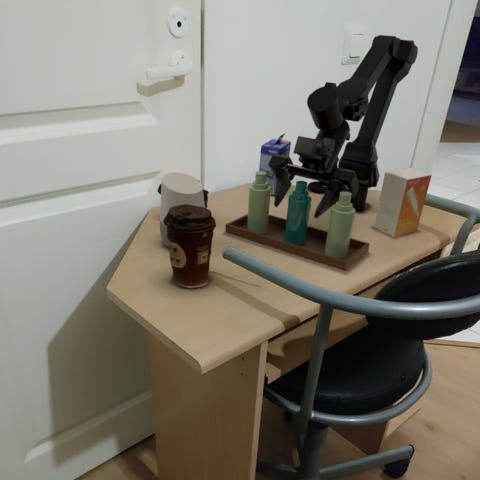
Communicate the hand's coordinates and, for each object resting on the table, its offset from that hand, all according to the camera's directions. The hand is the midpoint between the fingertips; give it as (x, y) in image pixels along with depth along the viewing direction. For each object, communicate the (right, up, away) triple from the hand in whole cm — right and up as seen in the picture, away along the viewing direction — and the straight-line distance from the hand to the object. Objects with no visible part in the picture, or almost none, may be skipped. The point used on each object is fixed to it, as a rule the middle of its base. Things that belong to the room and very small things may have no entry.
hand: (294, 211), depth 97 cm
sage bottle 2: (+8, -9, 0) cm, 12 cm away
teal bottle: (+1, -5, +5) cm, 7 cm away
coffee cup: (-20, -15, -10) cm, 27 cm away
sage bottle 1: (-7, -2, +9) cm, 12 cm away
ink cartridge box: (-2, +14, +35) cm, 38 cm away
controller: (-24, 0, +13) cm, 27 cm away
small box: (+25, -1, +14) cm, 28 cm away
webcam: (+11, +14, +36) cm, 41 cm away
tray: (+1, -6, +5) cm, 8 cm away
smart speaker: (-22, -7, +2) cm, 24 cm away
